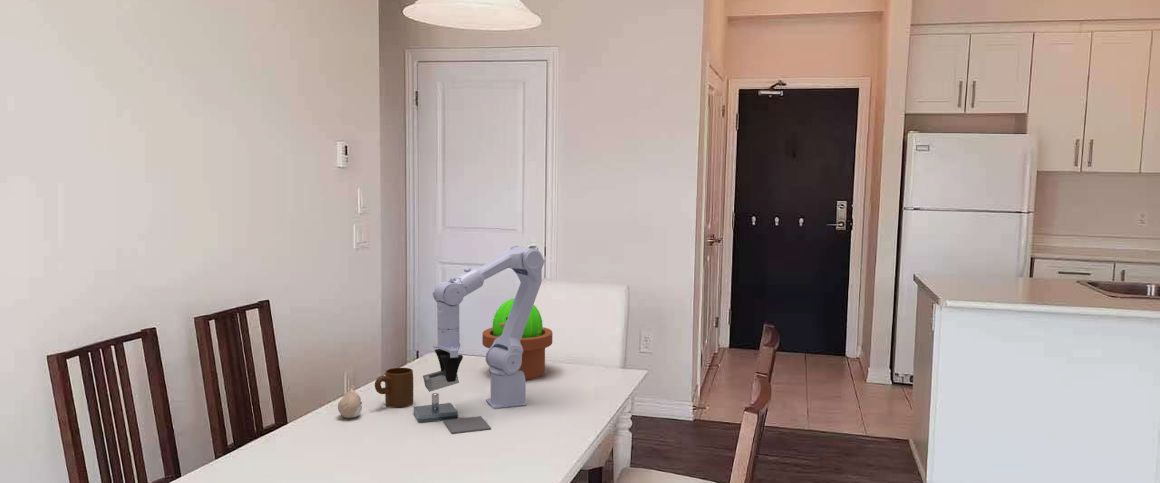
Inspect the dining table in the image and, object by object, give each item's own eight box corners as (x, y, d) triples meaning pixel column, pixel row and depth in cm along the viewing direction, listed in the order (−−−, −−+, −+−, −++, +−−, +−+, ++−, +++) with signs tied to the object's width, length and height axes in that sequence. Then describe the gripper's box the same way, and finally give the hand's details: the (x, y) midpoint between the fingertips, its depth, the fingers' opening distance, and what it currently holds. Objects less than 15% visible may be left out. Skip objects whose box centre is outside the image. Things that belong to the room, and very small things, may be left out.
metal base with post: (450, 410, 214) (450, 388, 213) (457, 418, 206) (457, 396, 206) (413, 413, 210) (413, 391, 210) (419, 423, 203) (418, 400, 202)
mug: (385, 413, 210) (384, 379, 209) (366, 408, 215) (366, 374, 214) (419, 403, 220) (419, 370, 219) (400, 398, 224) (400, 365, 223)
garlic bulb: (368, 415, 208) (367, 386, 208) (350, 422, 203) (350, 392, 202) (349, 411, 211) (349, 382, 211) (331, 418, 206) (331, 388, 205)
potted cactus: (492, 364, 264) (492, 289, 262) (557, 367, 261) (557, 292, 259) (474, 381, 243) (474, 300, 240) (545, 384, 240) (545, 303, 237)
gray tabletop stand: (454, 377, 212) (452, 367, 211) (459, 382, 207) (456, 372, 206) (425, 386, 209) (422, 375, 209) (429, 391, 204) (426, 380, 204)
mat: (481, 417, 208) (481, 416, 208) (491, 429, 199) (491, 427, 198) (443, 421, 204) (443, 420, 204) (451, 433, 195) (451, 432, 195)
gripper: (427, 323, 213) (428, 373, 214) (438, 334, 199) (439, 387, 200) (453, 321, 215) (454, 370, 216) (466, 332, 202) (466, 384, 203)
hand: (448, 378), depth 209 cm, fingers closed on gray tabletop stand, 5 cm apart
